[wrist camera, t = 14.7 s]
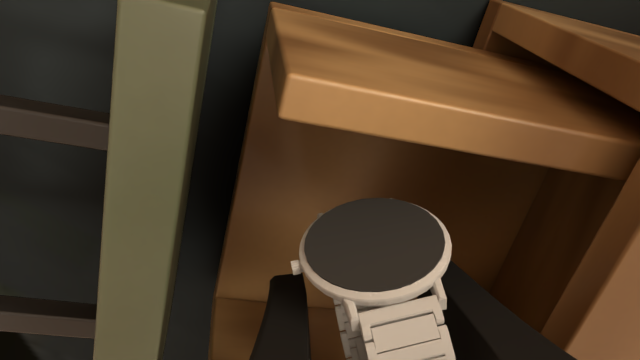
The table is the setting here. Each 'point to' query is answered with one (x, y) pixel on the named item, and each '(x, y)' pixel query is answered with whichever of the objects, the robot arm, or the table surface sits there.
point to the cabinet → (629, 207)
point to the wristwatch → (381, 277)
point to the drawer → (328, 168)
